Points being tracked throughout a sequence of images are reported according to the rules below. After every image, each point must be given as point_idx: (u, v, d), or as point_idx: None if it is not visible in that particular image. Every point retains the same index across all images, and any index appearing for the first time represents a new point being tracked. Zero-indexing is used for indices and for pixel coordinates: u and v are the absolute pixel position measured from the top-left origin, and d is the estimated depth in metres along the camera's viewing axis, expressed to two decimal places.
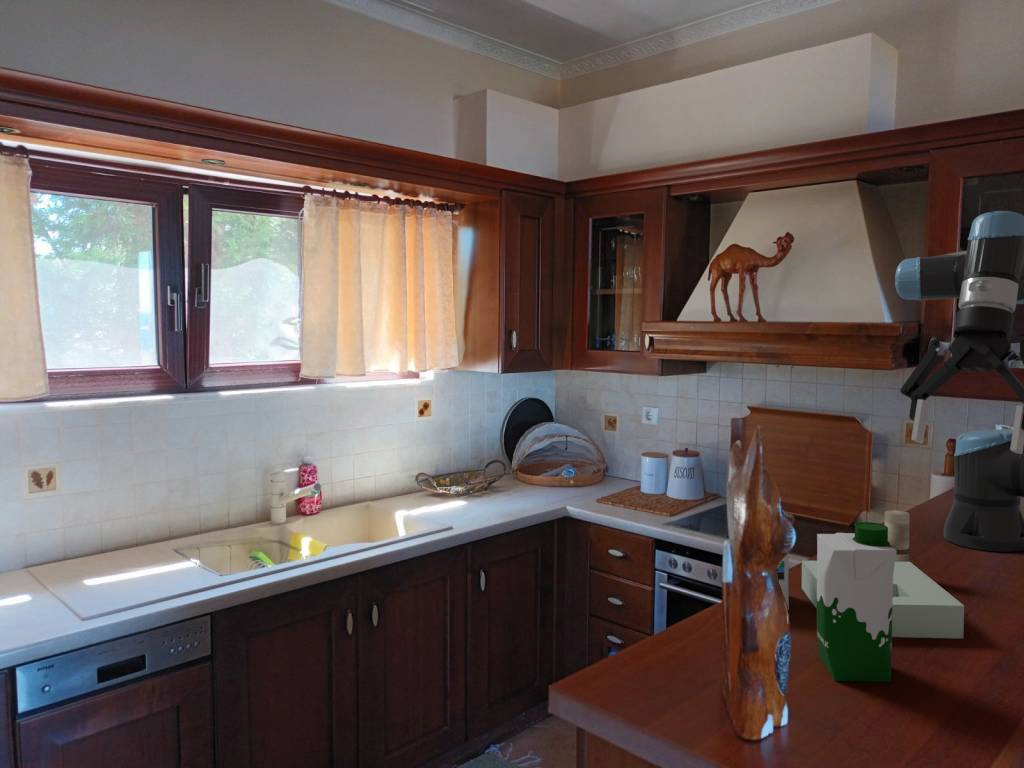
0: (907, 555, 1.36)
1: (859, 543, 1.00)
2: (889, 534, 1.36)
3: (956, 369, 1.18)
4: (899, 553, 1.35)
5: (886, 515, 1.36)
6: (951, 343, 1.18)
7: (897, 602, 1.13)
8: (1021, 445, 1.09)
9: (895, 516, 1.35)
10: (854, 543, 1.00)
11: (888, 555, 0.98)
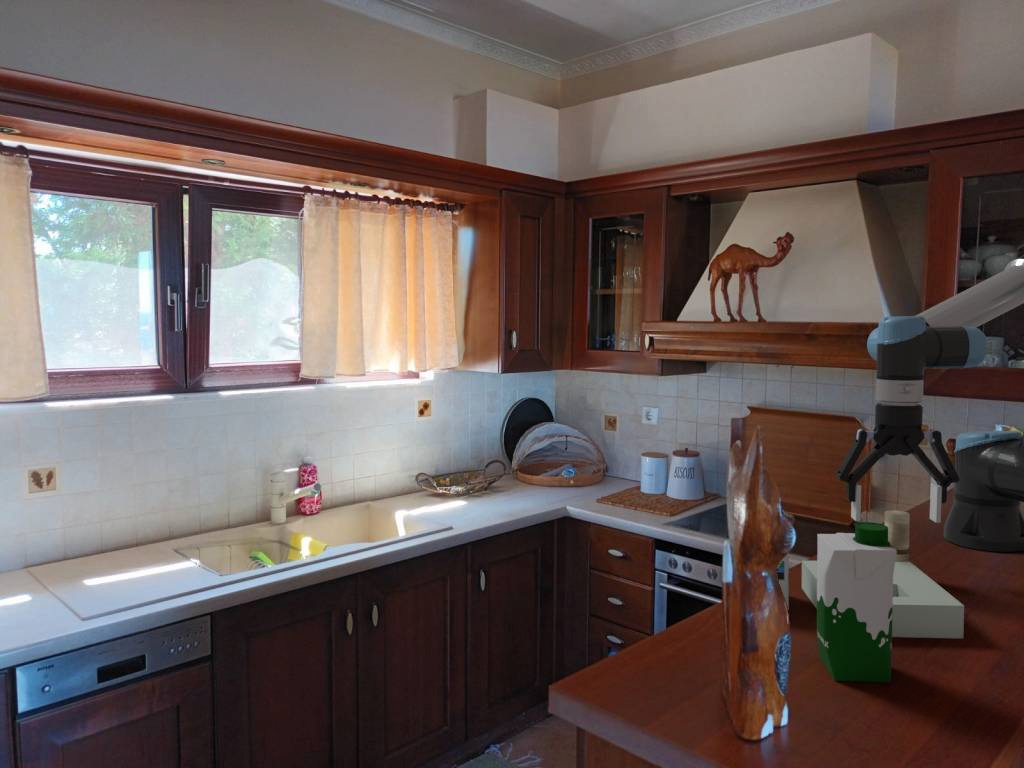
0: (907, 555, 1.36)
1: (859, 543, 1.00)
2: (889, 534, 1.36)
3: None
4: (899, 553, 1.35)
5: (886, 515, 1.36)
6: (878, 434, 1.35)
7: (897, 602, 1.13)
8: None
9: (895, 516, 1.35)
10: (854, 543, 1.00)
11: (889, 555, 0.98)
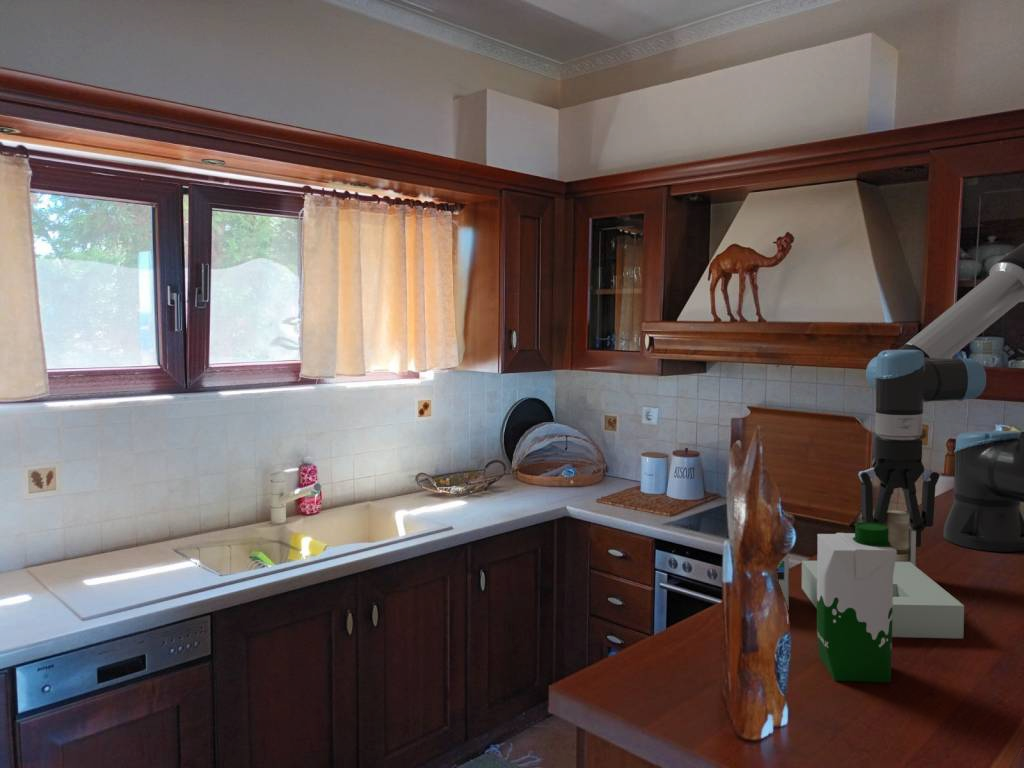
0: (907, 555, 1.36)
1: (859, 543, 1.00)
2: (889, 534, 1.36)
3: None
4: (899, 553, 1.35)
5: (886, 515, 1.36)
6: (877, 469, 1.35)
7: (897, 602, 1.13)
8: None
9: (895, 516, 1.35)
10: (854, 543, 1.00)
11: (889, 555, 0.98)
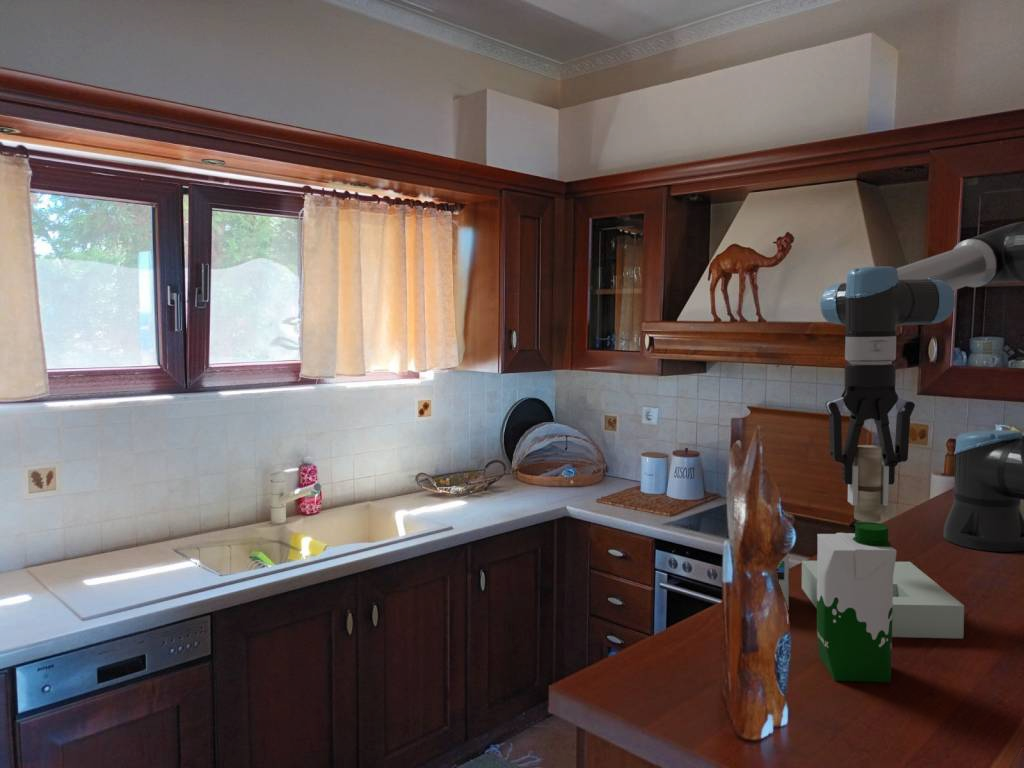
0: (879, 493, 1.24)
1: (859, 543, 1.00)
2: (859, 470, 1.24)
3: None
4: (870, 490, 1.23)
5: None
6: (847, 398, 1.23)
7: (897, 602, 1.13)
8: None
9: (866, 449, 1.23)
10: (854, 543, 1.00)
11: (889, 555, 0.98)
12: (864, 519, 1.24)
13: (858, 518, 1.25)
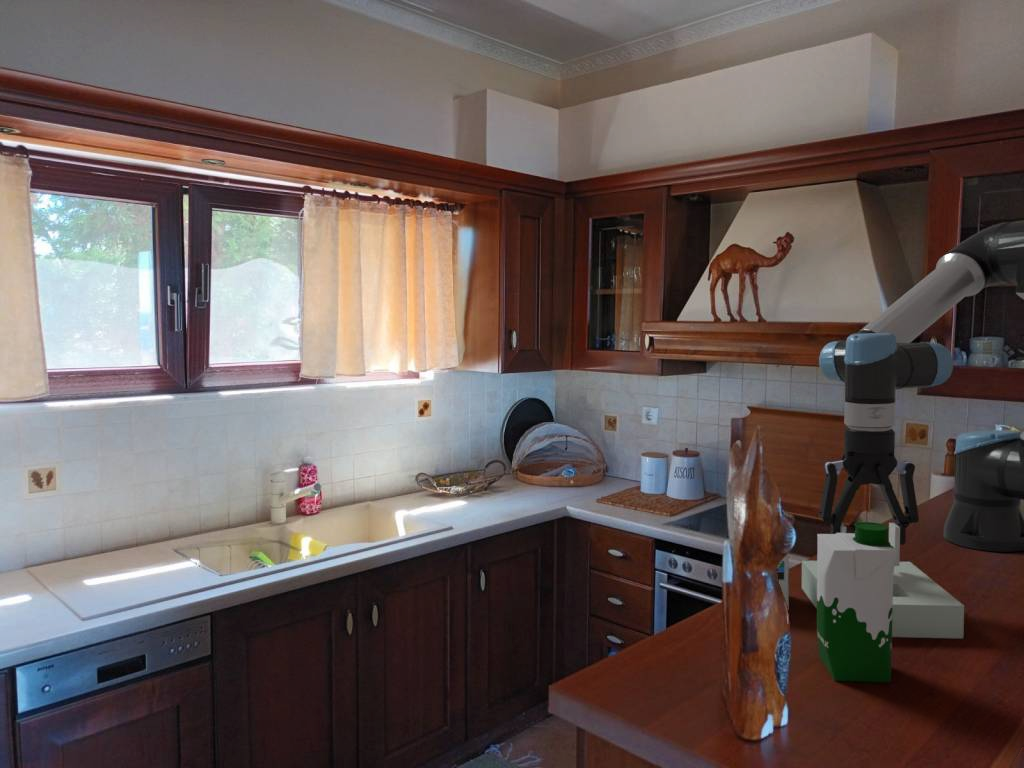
0: None
1: (859, 543, 1.00)
2: None
3: None
4: None
5: None
6: (846, 462, 1.24)
7: (897, 602, 1.13)
8: None
9: None
10: (854, 543, 1.00)
11: (889, 555, 0.98)
12: None
13: None
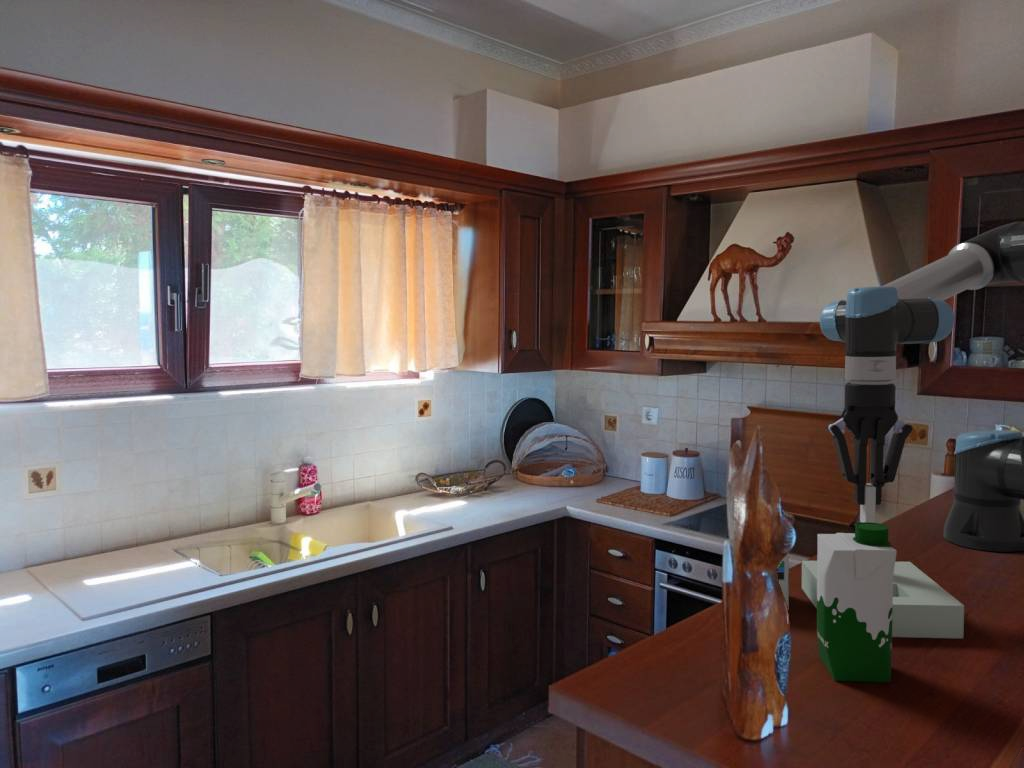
0: None
1: (859, 543, 1.00)
2: None
3: None
4: None
5: None
6: (847, 419, 1.23)
7: (897, 602, 1.13)
8: None
9: None
10: (854, 543, 1.00)
11: (889, 555, 0.98)
12: None
13: None
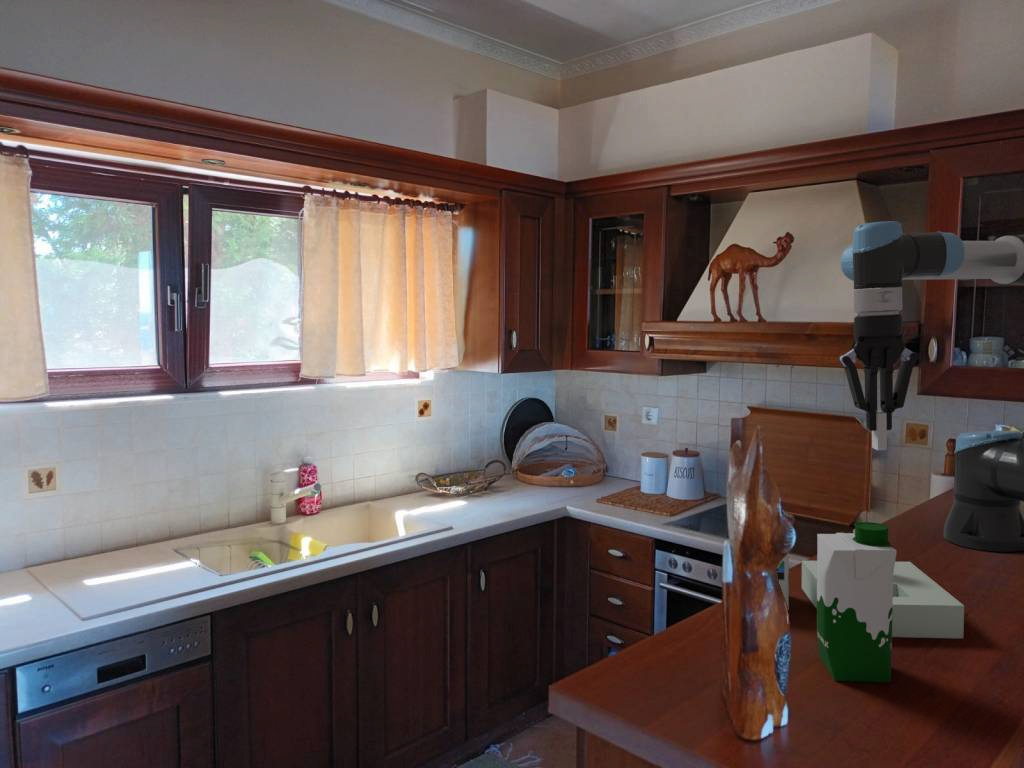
0: None
1: (859, 543, 1.00)
2: None
3: None
4: None
5: None
6: (857, 349, 1.30)
7: (897, 602, 1.13)
8: None
9: None
10: (854, 543, 1.00)
11: (889, 555, 0.98)
12: None
13: None
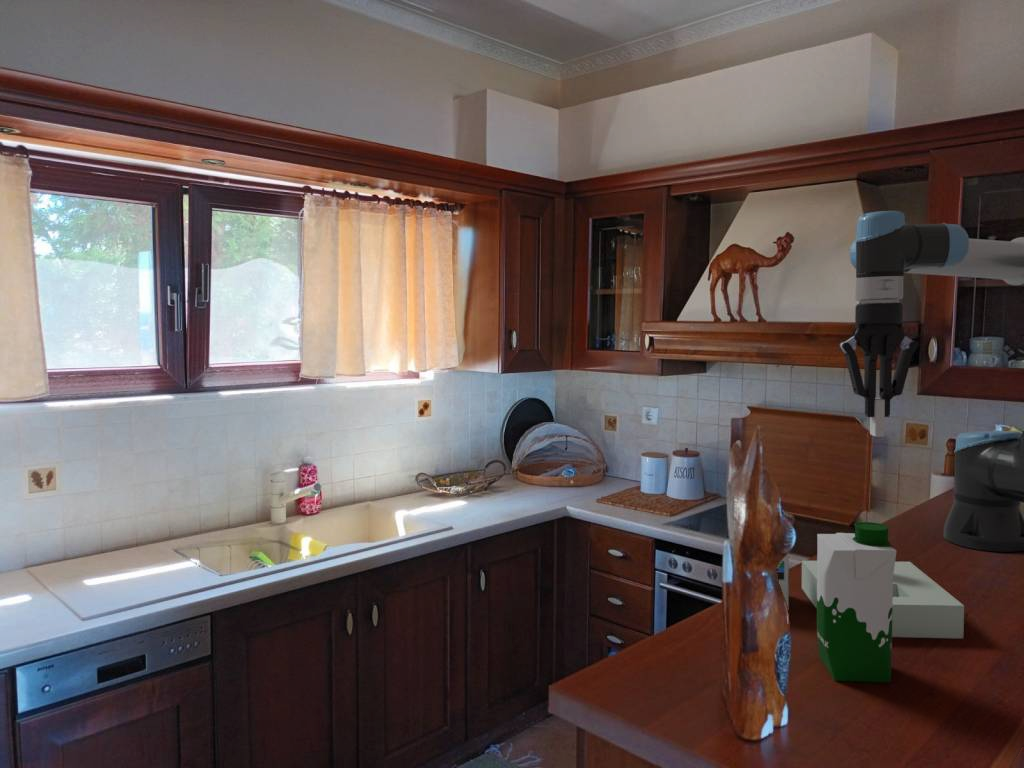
0: None
1: (859, 543, 1.00)
2: None
3: None
4: None
5: None
6: (858, 336, 1.32)
7: (897, 602, 1.13)
8: None
9: None
10: (854, 543, 1.00)
11: (889, 555, 0.98)
12: None
13: None
